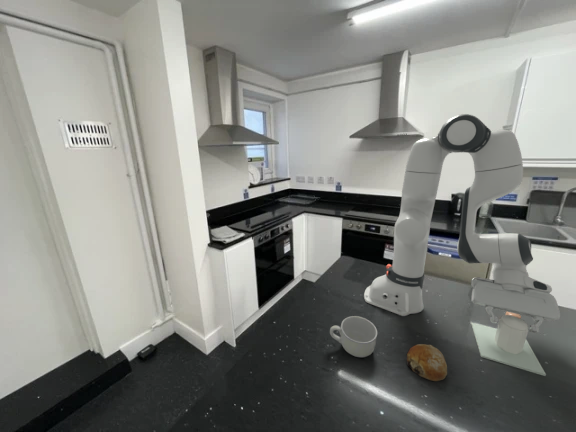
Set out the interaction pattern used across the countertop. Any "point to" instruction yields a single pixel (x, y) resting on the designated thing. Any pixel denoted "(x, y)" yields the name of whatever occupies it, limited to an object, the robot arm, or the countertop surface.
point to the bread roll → (427, 362)
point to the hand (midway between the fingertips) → (513, 327)
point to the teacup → (356, 336)
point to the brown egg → (513, 314)
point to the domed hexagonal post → (511, 334)
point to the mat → (495, 353)
